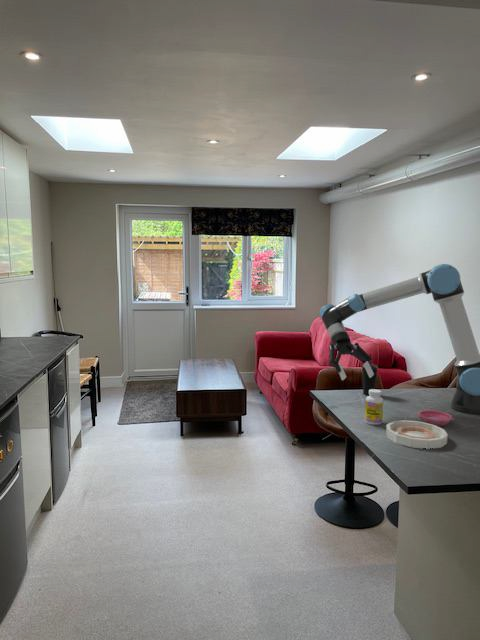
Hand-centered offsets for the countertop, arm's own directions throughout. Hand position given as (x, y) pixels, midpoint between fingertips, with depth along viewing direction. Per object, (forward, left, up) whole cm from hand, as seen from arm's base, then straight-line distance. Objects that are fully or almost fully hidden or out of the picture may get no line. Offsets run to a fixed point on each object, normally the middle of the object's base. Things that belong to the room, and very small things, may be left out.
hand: (358, 377), depth 190 cm
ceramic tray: (-20, +22, -16) cm, 33 cm away
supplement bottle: (-6, +9, -16) cm, 19 cm away
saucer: (-30, +1, -16) cm, 34 cm away
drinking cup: (-6, -33, -16) cm, 37 cm away
